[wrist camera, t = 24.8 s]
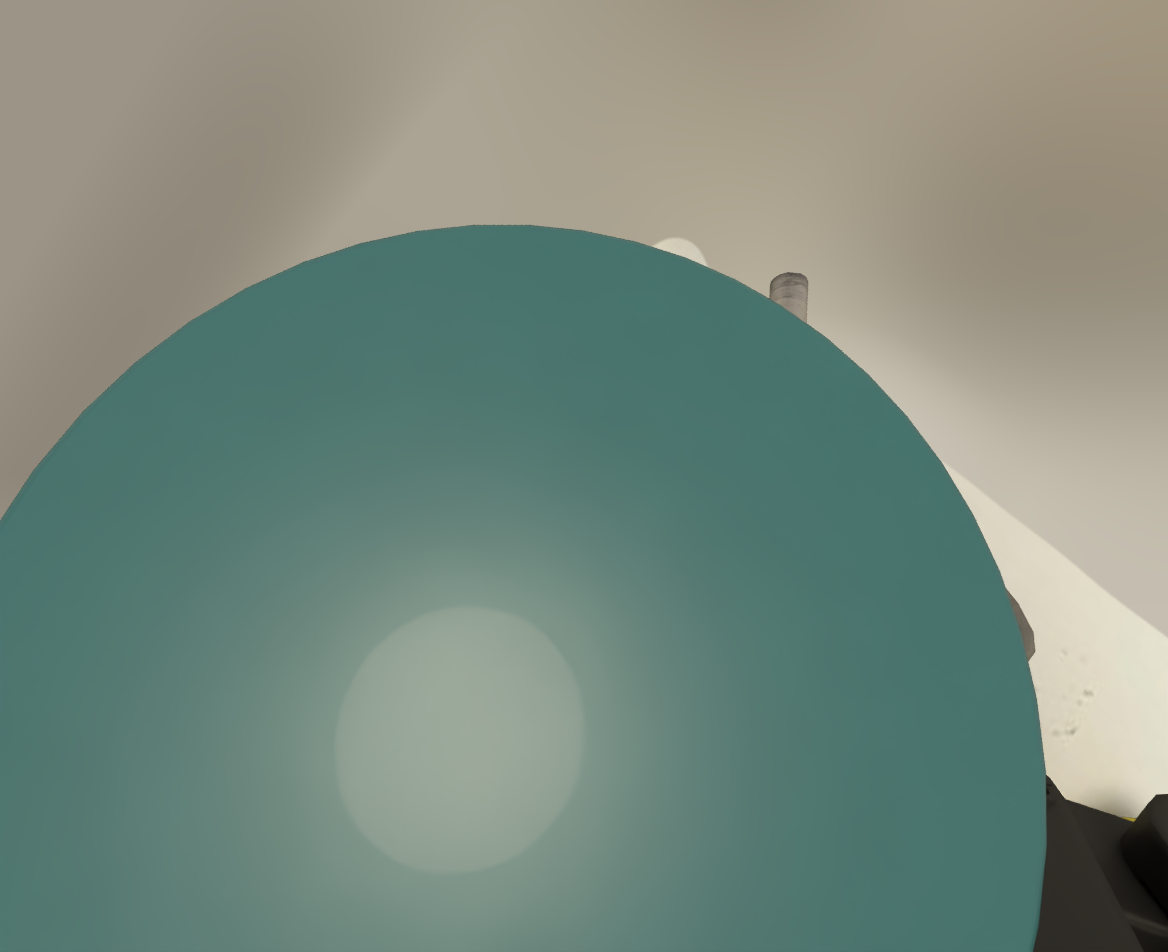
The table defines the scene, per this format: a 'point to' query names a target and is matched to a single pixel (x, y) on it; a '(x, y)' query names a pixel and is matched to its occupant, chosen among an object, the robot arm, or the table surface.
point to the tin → (508, 631)
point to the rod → (791, 293)
